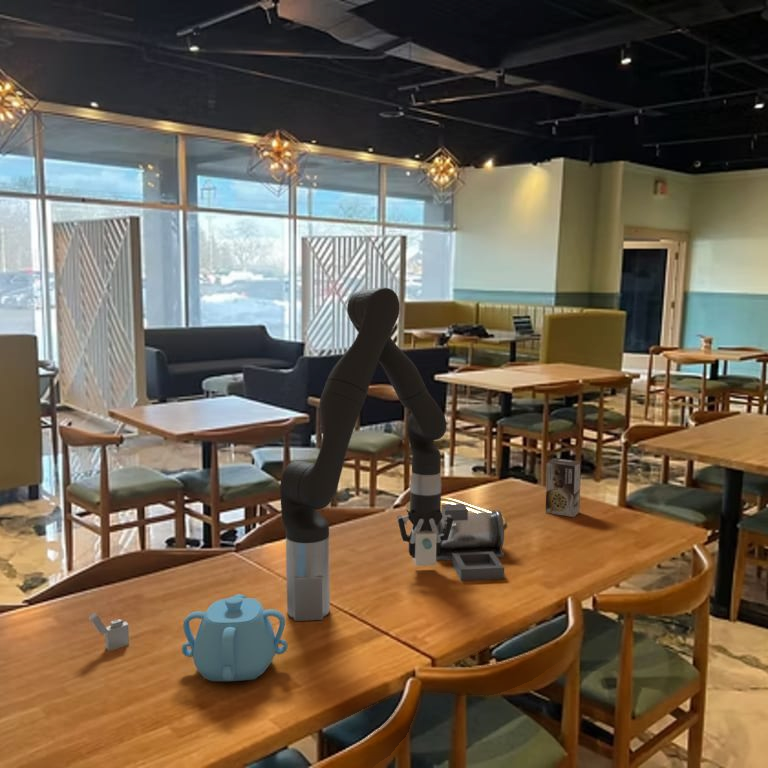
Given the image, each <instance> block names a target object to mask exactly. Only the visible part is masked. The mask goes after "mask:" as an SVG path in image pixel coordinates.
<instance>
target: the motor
mask: <svg viewBox="0 0 768 768" xmlns="http://www.w3.org/2000/svg"><path fill="white" fill-rule="evenodd" d="M441 513H442V514H443V515H448V514H449V515H451V516H452V518H453V522H452V526H451V530H450V533H449V537H448V540H443V541H441V543H440V554H439V555H438V556H437V557H436V561H452V553H468V552H492V551H493V552H494V554H495V555H496V557H497V558H498V559H499V558H504V557H505V553H504V551H503V550H502V548H503V546H504V543H505V525H504V524H503V518H504V517H503V515H502V512H501V511H500V510H498V509H495V510H492V511H490V512H488V513H476V512H469V510H468V509H467V508H466V507H465V505H464V504H449V503H445V504H441ZM502 517H503V518H502ZM436 527H437V530H438V533H439V535H440V534H442V531H443V527H444V523H443V519H441V521H440V522H439V523H438V525H437V526H436Z"/></svg>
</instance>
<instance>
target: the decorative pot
mask: <svg viewBox="0 0 768 768" xmlns="http://www.w3.org/2000/svg"><path fill="white" fill-rule="evenodd" d="M269 617H274V618H277V619H278V622H279V624H278V625H279V626H278V629H277V631H276V634H275V632H274V627H273V625H272V622H271V620H270V619H269ZM194 619H200V620H201V621H200V624H199V626H198V629H197V631H196V635H195V637H194V635H193V632H192V629H191V627H190V621H192V620H194ZM182 627H183V632H184V635H185V637H186V640H187V641H186V642H184V644H183V645H182V646H181V652H182V654H183V655H184V656H185V657H187V658H192V659H193V663H194V666H195V668H196V670H197V671H198V672H199V674H200V675H201V676H202V677H204V678H205V679H206V680H209V681H211V682H240V681H254V680H256V679H258V678H259V676H261V675H263V673H265V671H266V670H267V668H268V667H270V665H271V663H272V661H273V659H274V657H275V655H283V654H284V653H286V652H287V650H288V648H289V645H288V642H287V640H285V639H282V635H283V633H284V630H285V627H286V619H285V616H284V615H283V613H282V612H280V611H279V610H276V609H265V608H264V606H263V605H262V603H261V602H260V601H259V600H257V599H256V598H251V597H246V595H244V594H240V593H238V594H235V595H234V596H231V597H227V598H223V599H222V598H221V599H218V600H216V601H214V602H212V604H211V605H209V607H208V608H207V610H206V611H205V612H204V611H200V610H199V611H197V610H196V611H193V612H191V613H189V614H188V615H187V616H186V617H185V619H184V620H183V624H182ZM279 645H282V646H281V647H279ZM188 647H189V648H190V649H188Z"/></svg>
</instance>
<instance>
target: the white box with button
mask: <svg viewBox="0 0 768 768" xmlns="http://www.w3.org/2000/svg"><path fill="white" fill-rule="evenodd" d="M436 537H437V534H436V533H433V531H427V530H424V531H419V533H416V535H415V558H412V561H413V562H414V566H415V567H423V566H424V567H429V566H430V567H431V566H436V565H437V560H436Z"/></svg>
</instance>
